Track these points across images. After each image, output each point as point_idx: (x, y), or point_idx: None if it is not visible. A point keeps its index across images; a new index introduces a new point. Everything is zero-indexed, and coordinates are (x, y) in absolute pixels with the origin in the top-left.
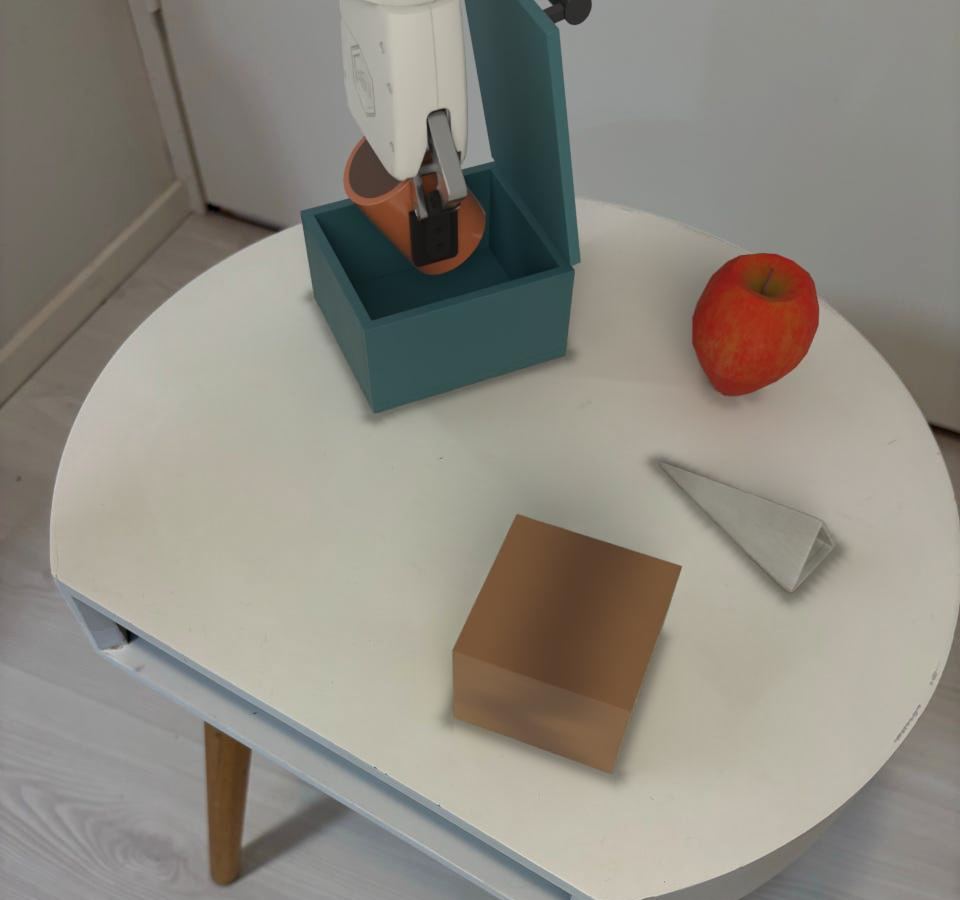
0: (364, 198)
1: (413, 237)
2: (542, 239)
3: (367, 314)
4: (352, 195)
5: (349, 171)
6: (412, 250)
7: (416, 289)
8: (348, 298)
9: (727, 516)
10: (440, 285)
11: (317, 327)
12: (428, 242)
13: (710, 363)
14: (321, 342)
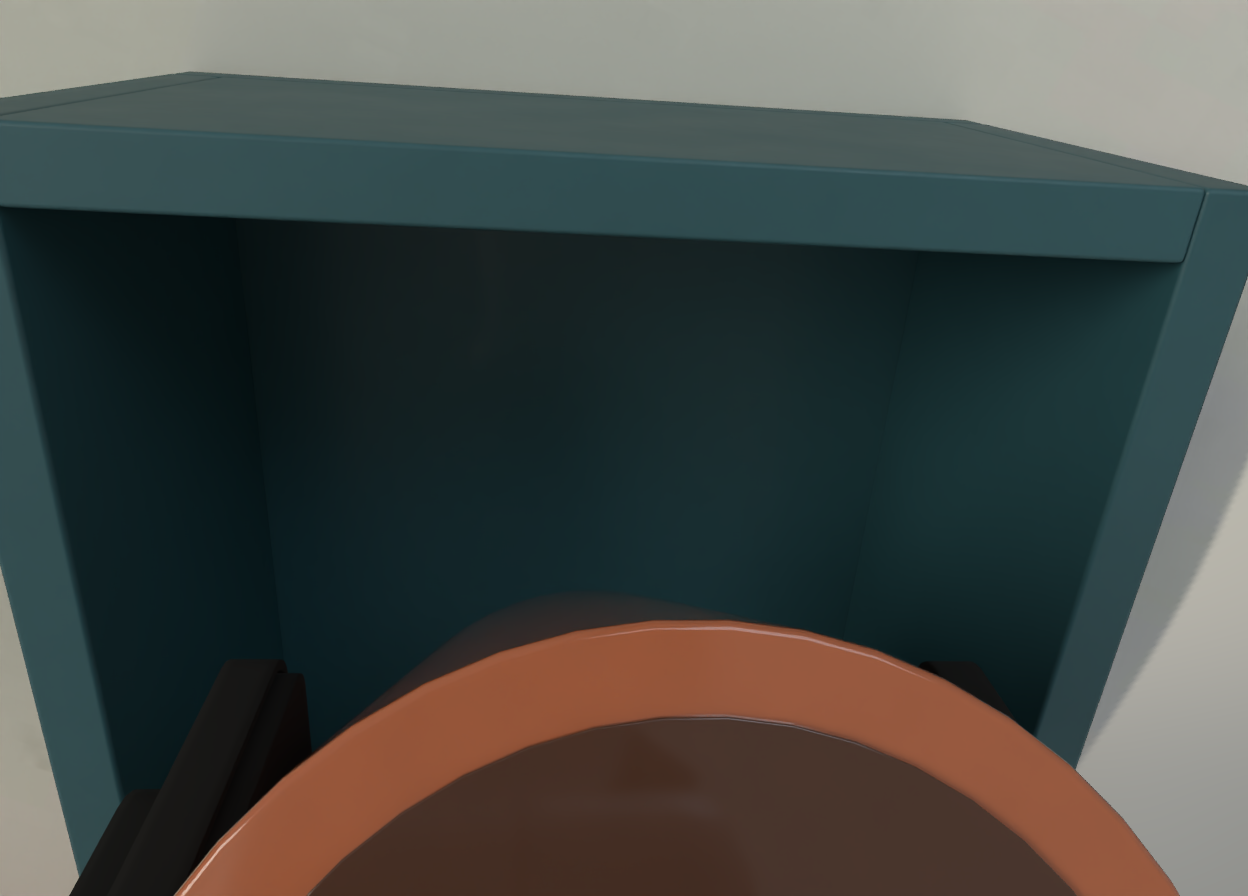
0: (409, 793)
1: (147, 833)
2: None
3: (65, 204)
4: (604, 679)
5: (964, 803)
6: (212, 729)
7: (752, 504)
8: (275, 145)
9: None
10: (728, 583)
11: (795, 58)
12: (72, 894)
13: None
14: (701, 35)
